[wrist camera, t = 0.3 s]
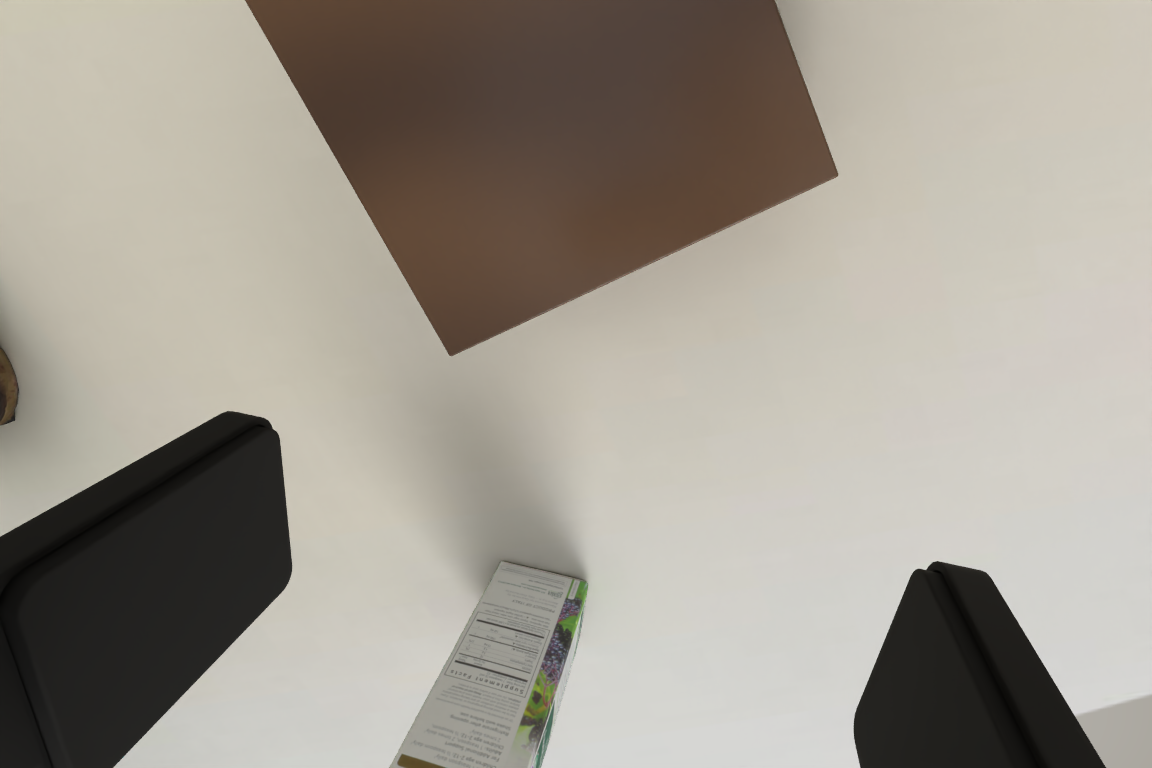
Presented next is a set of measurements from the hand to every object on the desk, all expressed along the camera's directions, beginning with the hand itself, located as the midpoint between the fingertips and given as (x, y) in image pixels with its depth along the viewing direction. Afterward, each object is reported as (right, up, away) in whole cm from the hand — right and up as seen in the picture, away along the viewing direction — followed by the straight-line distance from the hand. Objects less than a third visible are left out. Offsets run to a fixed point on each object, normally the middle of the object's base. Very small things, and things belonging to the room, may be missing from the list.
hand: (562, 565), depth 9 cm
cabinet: (0, +16, +18) cm, 24 cm away
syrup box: (-2, -11, +30) cm, 32 cm away
